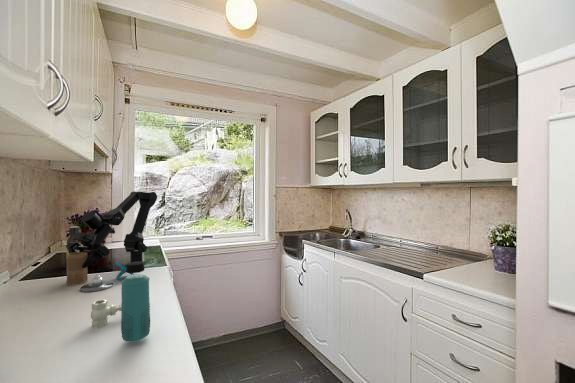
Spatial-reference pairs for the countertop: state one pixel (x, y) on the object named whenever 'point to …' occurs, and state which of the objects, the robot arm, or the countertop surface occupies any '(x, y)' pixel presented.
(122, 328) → the beverage bottle
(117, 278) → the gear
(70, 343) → the countertop surface
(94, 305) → the valve
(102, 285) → the hub
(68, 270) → the sleeve
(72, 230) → the sauce bottle
